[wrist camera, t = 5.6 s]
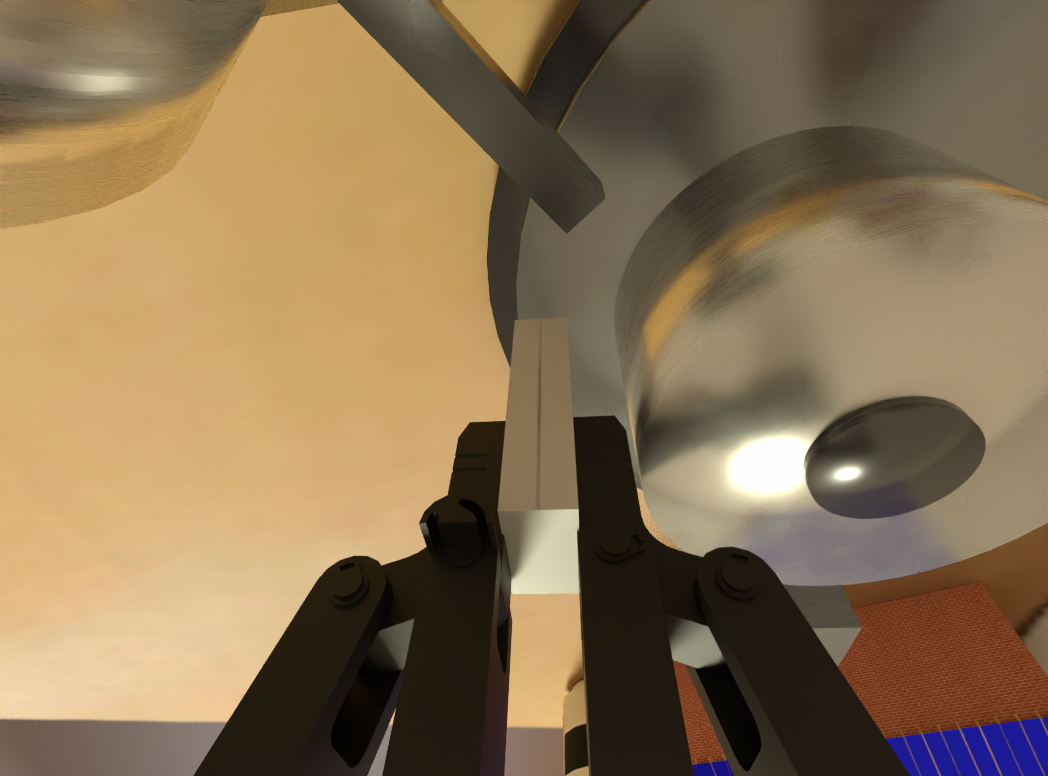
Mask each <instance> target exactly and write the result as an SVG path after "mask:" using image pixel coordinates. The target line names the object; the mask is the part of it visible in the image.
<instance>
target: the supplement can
mask: <svg viewBox="0 0 1048 776" xmlns="http://www.w3.org/2000/svg"><path fill="white" fill-rule="evenodd" d="M563 745H564V747H563V752H564V755H563V756H564V757H563V758H564V776H589V766H588V748H587V729H586V711H585V692H584V680H581V681H579V682H578V683H577V684H576V685H575V686H573V687H572V691H571V692H570V693H568V694H567V695H566V696H565V698H564V702H563Z"/></svg>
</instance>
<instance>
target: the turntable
mask: <svg viewBox="0 0 1048 776" xmlns="http://www.w3.org/2000/svg"><path fill="white" fill-rule="evenodd" d="M828 126H862V127H870V128H878V129H884V130H888V131H891V132H895V133H898V134H901V135H905V136H908V137H910V138H912V139H914V140H917V141H919V142H921V143H923V144H925V145H927V146H929V147H932V148H934V149H936V150H938V151H940V152H942V153H944V154H947V155H949V156H951V157H953V158H955V159H957V160H959V161H962V162H964V163H966V164H968V165H970V166H972V167H974V168H977V169H979V170H981V171H983V172H985V173H987V174H989V175H992V176H994V177H996V178H998V179H1000V180H1002V181H1004V182H1007V183H1009V184H1011V185H1013V186H1015V187H1017V188H1019V189H1022V190H1024V191H1026V192H1028V193H1030V194H1032V195H1034V196H1037V197H1039V198H1041V199H1043V200H1045V201H1047V202H1048V0H642V1H641V2H640V3H639V5H638V6H637V7H636V8H635V9H634V10H633V11H632V13H631V14H630V15H629V16H628V17H627V18H626V19H625V21H624V22H623V23H622V24H621V25H620V26H619V27H618V29H617V30H616V31H615V32H614V33H613V34H612V35H611V37H610V38H609V40H608V41H607V43H606V44H605V46H604V47H603V48H602V50H601V51H600V53H599V54H598V56H597V57H596V59H595V60H594V61H593V63H592V64H591V66H590V67H589V69H588V70H587V72H586V73H585V75H584V76H583V77H582V79H581V80H580V82H579V83H578V85H577V86H576V88H575V90H574V92H573V94H572V96H571V97H570V99H569V101H568V103H567V105H566V107H565V109H564V111H563V113H562V115H561V116H560V118H559V120H558V122H557V124H556V126H555V128H554V129H555V130H556V131H557V132H558V133H559V134H560V135H561V137H562V138H563V139H564V140H565V141H566V142H567V143H568V144H569V146H570V147H571V148H572V149H573V150H574V151H575V152H576V153H577V155H578V156H579V157H580V158H581V159H582V160H583V161H584V162H585V164H586V165H587V166H588V167H589V168H590V169H591V170H592V171H593V173H594V174H595V175H596V176H597V177H598V178H599V179H600V180H601V182H602V186H603V189H604V193H605V197H606V199H605V200H603V201H602V202H601V203H600V204H599V205H598V206H597V207H596V208H595V209H594V210H592V211H591V212H590V213H589V214H588V215H587V216H586V217H585V218H584V219H583V220H582V221H580V222H579V223H578V224H577V225H576V226H575V227H574V228H573V229H572V230H571V231H569V232H568V233H567V234H566V233H565V232H564V231H563V230H562V229H561V228H560V227H559V226H558V225H557V224H556V223H555V222H554V221H553V220H552V219H551V218H550V217H549V216H548V215H547V214H546V213H545V212H544V211H543V210H542V209H541V208H540V207H539V206H538V205H537V204H536V203H535V202H534V201H533V200H532V198H531V197H530V196H529V199H528V204H527V208H526V212H525V216H524V220H523V224H522V232H521V242H520V252H519V262H518V272H517V282H516V291H517V314H518V320H525V319H544V318H562V317H567V329H568V345H569V361H570V378H571V394H572V410H573V417H587V416H611V415H615V416H616V418H617V419H618V420H619V422H620V423H621V424H622V425H623V427H624V428H625V429H626V432H627V437H628V443H629V451H630V454H631V460H632V466H633V471H634V477H635V483H636V487H637V488H639V489H642V485H641V480H640V474H639V469H638V463H637V458H636V452H635V446H634V441H633V435H632V430H631V424H630V419H629V413H628V407H627V402H626V396H625V391H624V385H623V379H622V374H621V368H620V363H619V357H618V352H617V346H616V340H615V330H614V312H615V302H616V297H617V293H618V288H619V284H620V280H621V278H622V275H623V273H624V270H625V268H626V265H627V263H628V260H629V258H630V256H631V255H632V253H633V251H634V249H635V247H636V246H637V244H638V242H639V240H640V239H641V237H642V236H643V234H644V233H645V232H646V230H647V229H648V228H649V226H650V225H651V223H652V222H653V221H654V219H655V218H656V217H657V216H658V215H659V214H660V213H661V212H662V210H663V209H664V208H665V207H666V206H667V205H668V204H669V203H670V202H671V201H672V200H673V199H674V198H675V197H676V196H677V195H678V194H679V193H681V192H682V191H683V190H684V189H685V188H686V187H687V186H689V185H690V184H691V183H692V182H693V181H694V180H696V179H697V178H699V177H700V176H702V175H703V174H704V173H706V172H707V171H709V170H710V169H712V168H713V167H714V166H716V165H717V164H719V163H721V162H723V161H725V160H726V159H728V158H730V157H732V156H734V155H736V154H737V153H739V152H741V151H743V150H745V149H748V148H750V147H753V146H755V145H757V144H760V143H762V142H765V141H767V140H770V139H772V138H776V137H780V136H783V135H787V134H790V133H794V132H797V131H802V130H808V129H815V128H821V127H828ZM642 490H643V489H642ZM783 585H784V587H785V588H786V590H787V591H788V593H789V594H790V596H791V597H792V599H793V600H794V602H795V603H796V605H797V606H798V608H799V609H800V611H801V612H802V614H803V615H804V617H805V618H806V620H807V621H808V623H809V624H810V626H811V627H812V629H813V630H814V632H815V633H816V635H817V636H818V638H819V639H820V641H821V642H822V644H823V645H824V647H825V648H826V650H827V651H828V653H829V654H830V656H831V657H832V659H833V660H834V662H835V663H836V665H837V666H839V664H840V663H841V661H842V659H843V658H844V656H845V655H846V653H847V651H848V650H849V648H850V646H851V645H852V643H853V642H854V640H855V638H856V637H857V635H858V634H859V632H860V630H861V629H862V626H861V624H860V622H859V620H858V618H857V616H856V614H855V612H854V610H853V608H852V605H851V603H850V601H849V599H848V597H847V595H846V593H845V591H844V589H843V587H842V585H832V586H796V585H785V584H783Z"/></svg>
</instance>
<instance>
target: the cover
mask: <svg viewBox="0 0 1048 776" xmlns="http://www.w3.org/2000/svg"><path fill="white" fill-rule="evenodd" d="M614 330H615V340H616V346H617V352H618V357H619V363H620V368H621V374H622V379H623V385H624V391H625V396H626V402H627V407H628V413H629V419H630V424H631V430H632V435H633V441H634V446H635V452H636V458H637V463H638V469H639V474H640V480H641V485H642V489H643V494H644V498H645V502H646V504H647V507H648V509H649V511H650V513H651V515H652V517H653V519H654V521H655V522H656V523H657V525H658V526H659V528H660V529H661V530H662V532H663V533H664V534H665V535H666V536H667V537H668V538H669V539H670V540H671V541H672V542H673V543H674V544H675V545H676V546H677V547H679V548H680V549H682V550H683V551H684V552H686V553H689V554H693V555H697V556H701V557H703V556H704V555H705V554H706V553H707V552H709V551H712V550H714V549H716V548H718V547H736V548H740V549H744V550H748V551H750V552H752V553H753V554H755V555H757V556H758V557H760V558H762V559H763V560H764V561H765V562H766V563H767V564H768V565H769V566H770V567H771V568H772V570H773V571H774V572H775V573H776V575H777V576H778V578H779V579H780V581H781V582H782V584H785V585H796V586H832V585H850V584H859V583H868V582H876V581H881V580H887V579H893V578H899V577H904V576H908V575H912V574H916V573H921V572H925V571H929V570H933V569H936V568H939V567H943V566H946V565H949V564H953V563H956V562H959V561H962V560H965V559H968V558H970V557H973V556H976V555H979V554H981V553H984V552H987V551H989V550H992V549H994V548H996V547H999V546H1001V545H1003V544H1006V543H1008V542H1010V541H1013V540H1015V539H1017V538H1019V537H1021V536H1023V535H1025V534H1027V533H1029V532H1031V531H1033V530H1035V529H1037V528H1039V527H1041V526H1043V525H1045V524H1046V523H1048V202H1047V201H1045V200H1043V199H1041V198H1039V197H1037V196H1034V195H1032V194H1030V193H1028V192H1026V191H1024V190H1022V189H1019V188H1017V187H1015V186H1013V185H1011V184H1009V183H1007V182H1004V181H1002V180H1000V179H998V178H996V177H994V176H992V175H989V174H987V173H985V172H983V171H981V170H979V169H977V168H974V167H972V166H970V165H968V164H966V163H964V162H962V161H959V160H957V159H955V158H953V157H951V156H949V155H947V154H944V153H942V152H940V151H938V150H936V149H934V148H932V147H929V146H927V145H925V144H923V143H921V142H919V141H917V140H914V139H912V138H910V137H908V136H905V135H901V134H898V133H895V132H891V131H888V130H884V129H878V128H870V127H862V126H828V127H821V128H815V129H808V130H802V131H797V132H794V133H790V134H787V135H783V136H780V137H776V138H772V139H770V140H767V141H765V142H762V143H760V144H757V145H755V146H753V147H750V148H748V149H745V150H743V151H741V152H739V153H737V154H736V155H734V156H732V157H730V158H728V159H726V160H725V161H723V162H721V163H719V164H717V165H716V166H714V167H713V168H712V169H710V170H709V171H707V172H706V173H704V174H703V175H702V176H700V177H699V178H697V179H696V180H694V181H693V182H692V183H691V184H690V185H689V186H687V187H686V188H685V189H684V190H683V191H682V192H681V193H679V194H678V195H677V196H676V197H675V198H674V199H673V200H672V201H671V202H670V203H669V204H668V205H667V206H666V207H665V208H664V209H663V210H662V212H661V213H660V214H659V215H658V216H657V217H656V218H655V219H654V221H653V222H652V223H651V225H650V226H649V228H648V229H647V230H646V232H645V233H644V234H643V236H642V237H641V239H640V240H639V242H638V244H637V246H636V247H635V249H634V251H633V253H632V255H631V256H630V258H629V260H628V263H627V265H626V268H625V270H624V273H623V275H622V278H621V280H620V284H619V288H618V293H617V297H616V302H615V312H614Z"/></svg>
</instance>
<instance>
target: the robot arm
mask: <svg viewBox="0 0 1048 776" xmlns="http://www.w3.org/2000/svg"><path fill="white" fill-rule="evenodd" d="M419 524H420V528H421V531H422V534H423V537H424V540H425V543H426V546H427V547H426V548H424V549H423V550H421V551H420V552H418V553H416V554H414V555H412V556H409V557H407V558H404V559H401V560H398V561H394V562H391V563H388V564H385V565H382V566H381V564H380V563H379V562H378V561H377V560H375V559H373V558H370V557H368V556H352V557H349V558H346V559H343V560H340V561H338V562H337V563H335V564H334V565H332V566H331V567H329V568H328V569H327V570H326V571H325V572H324V573H323V574H322V576H321V577H320V578H319V579H318V580H317V582H316V583H315V585H314V586H313V588H312V590H311V591H310V593H309V594H308V596H307V597H306V599H305V601H304V602H303V604H302V605H301V607H300V609H299V610H298V612H297V613H296V615H295V616H294V618H293V620H292V621H291V623H290V624H289V626H288V627H287V629H286V631H285V632H284V634H283V635H282V637H281V638H280V640H279V642H278V643H277V645H276V646H275V648H274V650H273V651H272V653H271V654H270V656H269V657H268V659H267V661H266V662H265V664H264V665H263V667H262V668H261V670H260V672H259V673H258V675H257V676H256V678H255V679H254V681H253V683H252V684H251V686H250V687H249V689H248V691H247V692H246V694H245V695H244V697H243V698H242V700H241V702H240V703H239V705H238V706H237V708H236V709H235V711H234V713H233V714H232V716H231V717H230V719H229V720H228V722H227V724H226V725H225V727H224V728H223V730H222V732H221V733H220V735H219V736H218V738H217V740H216V741H215V743H214V744H213V746H212V747H211V749H210V750H209V752H208V754H207V755H206V757H205V758H204V760H203V761H202V763H201V765H200V766H199V768H198V769H197V771H196V773H195V774H194V776H367V775H368V773H369V770H370V767H371V765H372V763H373V761H374V758H375V756H376V754H377V751H378V749H379V746H380V744H381V742H382V739H383V737H384V735H385V732H386V730H387V728H388V725H389V723H390V720H391V718H392V716H393V713H394V711H395V709H396V711H395V716H394V721H393V726H392V731H391V736H390V741H389V746H388V750H387V755H386V760H385V765H384V770H383V776H504V768H505V750H506V731H507V712H508V693H509V674H510V654H511V635H512V617H511V611H510V595H511V589H512V594H549V593H579V597H580V615H581V640H582V655H583V673H584V692H585V711H586V729H587V748H588V766H589V776H694V771H693V766H692V761H691V755H690V750H689V744H688V739H687V734H686V728H685V723H684V717H683V712H682V707H681V701H680V696H679V690H678V685H677V680H676V674H675V669H674V663H673V660H674V661H677V662H680V663H683V664H685V666H686V668H687V670H688V673H689V675H690V677H691V679H692V682H693V684H694V686H695V688H696V691H697V693H698V695H699V697H700V700H701V702H702V704H703V706H704V709H705V711H706V713H707V715H708V718H709V720H710V722H711V724H712V727H713V729H714V731H715V733H716V736H717V738H718V740H719V742H720V745H721V747H722V749H723V752H724V754H725V756H726V758H727V761H728V763H729V765H730V767H731V770H732V772H733V774H734V776H910V774H909V773H908V771H907V770H906V768H905V767H904V765H903V764H902V762H901V761H900V759H899V758H898V756H897V755H896V753H895V752H894V750H893V749H892V747H891V746H890V744H889V743H888V741H887V740H886V738H885V737H884V735H883V734H882V732H881V731H880V729H879V728H878V726H877V725H876V723H875V722H874V720H873V719H872V717H871V716H870V714H869V713H868V711H867V710H866V708H865V707H864V705H863V704H862V702H861V701H860V699H859V698H858V696H857V695H856V693H855V692H854V690H853V689H852V687H851V686H850V684H849V683H848V681H847V680H846V678H845V677H844V675H843V674H842V672H841V671H840V669H839V668H838V666H837V665H836V663H835V662H834V660H833V659H832V657H831V656H830V654H829V653H828V651H827V650H826V648H825V647H824V645H823V644H822V642H821V641H820V639H819V638H818V636H817V635H816V633H815V632H814V630H813V629H812V627H811V626H810V624H809V623H808V621H807V620H806V618H805V617H804V615H803V614H802V612H801V611H800V609H799V608H798V606H797V605H796V603H795V602H794V600H793V599H792V597H791V596H790V594H789V593H788V591H787V590H786V588H785V587H784V585H783V584H782V582H781V581H780V579H779V578H778V576H777V575H776V573H775V572H774V571H773V570H772V568H771V567H770V566H769V565H768V564H767V563H766V562H765V561H764V560H763V559H762V558H760V557H758V556H757V555H755V554H753V553H752V552H750V551H748V550H744V549H740V548H736V547H718V548H716V549H714V550H712V551H709V552H707V553H706V554H705V555H704V556H703V557H701V556H697V555H693V554H689V553H686V552H682V551H678V550H676V549H673V548H670V547H668V546H666V545H664V544H663V543H661V542H659V541H658V540H657V539H656V538H655V537H653V536H652V535H651V534H650V533H649V531H648V530H647V528H646V527H645V525H644V522H643V519H642V516H641V511H640V505H639V500H638V494H637V488H636V483H635V477H634V471H633V466H632V460H631V454H630V451H629V443H628V437H627V432H626V429H625V428H624V427H623V425H622V424H621V423H620V422H619V420H618V419H617V418H616V416H615V415H611V416H587V417H573V410H572V394H571V378H570V361H569V345H568V329H567V317H562V318H544V319H525V320H515V324H514V335H513V346H512V357H511V368H510V379H509V391H508V402H507V413H506V421H494V422H470V423H469V424H468V426H467V427H466V428H465V430H464V431H463V432H462V434H461V435H460V436H459V438H458V443H457V449H456V454H455V459H454V464H453V472H452V475H451V480H450V486H449V491H448V496H445V497H443V498H441V499H439V500H437V501H435V502H434V503H433V504H432V505H431V506H430V507H429V508H428V509H427V510H426V511H425V512H424V514H423V516H422V518H421V520H420V522H419Z"/></svg>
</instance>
